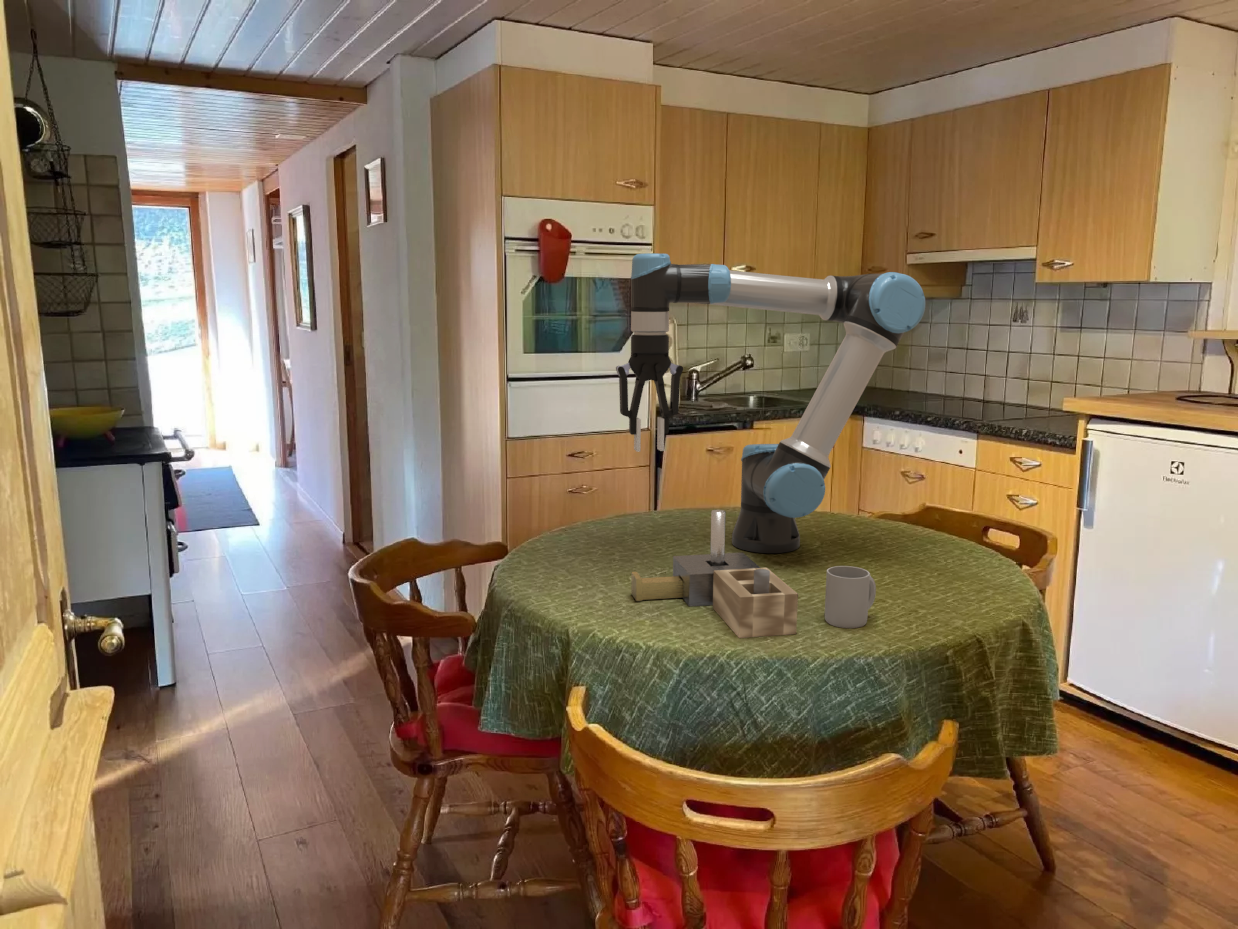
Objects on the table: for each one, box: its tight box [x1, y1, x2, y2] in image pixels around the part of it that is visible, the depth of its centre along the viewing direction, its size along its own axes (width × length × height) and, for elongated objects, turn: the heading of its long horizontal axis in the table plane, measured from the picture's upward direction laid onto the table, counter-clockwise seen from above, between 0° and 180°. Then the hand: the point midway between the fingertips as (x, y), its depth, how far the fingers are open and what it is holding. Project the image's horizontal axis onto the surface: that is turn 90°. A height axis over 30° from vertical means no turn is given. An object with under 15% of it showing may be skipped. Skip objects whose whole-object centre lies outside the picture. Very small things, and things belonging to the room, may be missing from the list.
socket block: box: [672, 552, 761, 607], centre depth 174 cm, size 14×12×6 cm
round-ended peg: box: [710, 509, 726, 566], centre depth 173 cm, size 3×3×16 cm
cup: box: [824, 565, 877, 629], centre depth 160 cm, size 7×10×9 cm
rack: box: [712, 567, 799, 639], centre depth 160 cm, size 10×15×10 cm, turn 11°
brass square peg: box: [630, 571, 683, 602], centre depth 172 cm, size 10×4×4 cm, turn 101°
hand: (648, 449), depth 187 cm, fingers open, 4 cm apart
